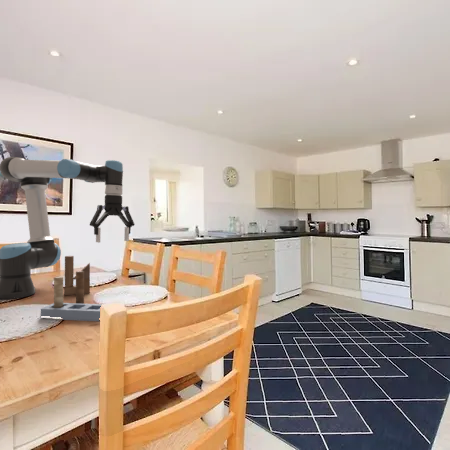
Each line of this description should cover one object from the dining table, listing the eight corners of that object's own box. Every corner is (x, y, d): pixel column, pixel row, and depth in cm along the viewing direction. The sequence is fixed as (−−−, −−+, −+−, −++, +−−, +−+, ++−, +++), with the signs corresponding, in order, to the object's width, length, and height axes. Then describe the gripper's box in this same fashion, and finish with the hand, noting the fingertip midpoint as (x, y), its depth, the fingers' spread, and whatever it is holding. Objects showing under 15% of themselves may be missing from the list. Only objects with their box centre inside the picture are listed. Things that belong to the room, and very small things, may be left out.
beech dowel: (51, 316, 106) (52, 278, 106) (57, 314, 109) (57, 276, 109) (59, 317, 106) (59, 278, 105) (64, 314, 109) (65, 276, 108)
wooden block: (89, 293, 139) (89, 255, 138) (64, 295, 134) (64, 256, 134) (89, 291, 142) (89, 254, 141) (64, 293, 137) (64, 255, 137)
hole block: (40, 318, 104) (40, 308, 103) (55, 311, 112) (55, 302, 111) (100, 321, 102) (100, 311, 102) (110, 313, 110) (110, 304, 110)
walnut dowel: (74, 306, 118) (74, 272, 117) (78, 304, 121) (78, 271, 120) (81, 307, 118) (81, 272, 117) (85, 304, 120) (85, 271, 120)
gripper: (89, 192, 121) (88, 243, 122) (142, 196, 140) (141, 241, 140) (81, 193, 126) (81, 242, 127) (134, 197, 145) (133, 239, 145)
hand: (112, 241), depth 133 cm, fingers open, 13 cm apart
